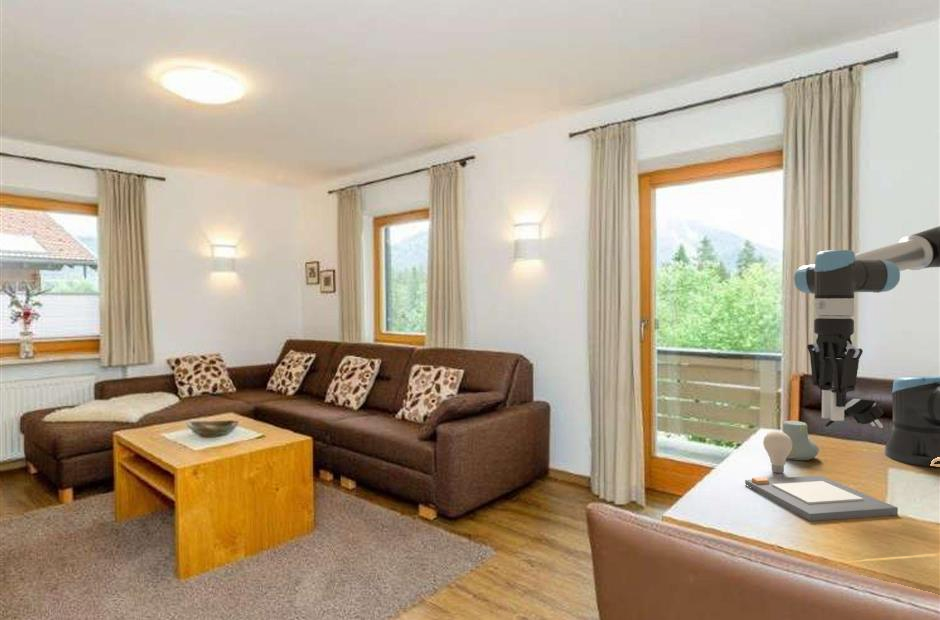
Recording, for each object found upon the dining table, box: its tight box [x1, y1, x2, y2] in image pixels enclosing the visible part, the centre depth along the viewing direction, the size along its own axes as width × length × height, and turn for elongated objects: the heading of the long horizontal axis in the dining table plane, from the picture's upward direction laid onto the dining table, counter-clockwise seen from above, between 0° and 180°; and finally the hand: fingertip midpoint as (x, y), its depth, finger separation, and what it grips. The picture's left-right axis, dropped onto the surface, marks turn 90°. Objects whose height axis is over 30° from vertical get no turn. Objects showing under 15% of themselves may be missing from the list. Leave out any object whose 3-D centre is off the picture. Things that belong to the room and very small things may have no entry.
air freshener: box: [782, 420, 820, 461], centre depth 146 cm, size 11×8×10 cm
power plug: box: [824, 398, 884, 429], centre depth 119 cm, size 6×8×12 cm
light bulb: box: [762, 430, 792, 474], centre depth 133 cm, size 7×7×11 cm
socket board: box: [744, 474, 899, 522], centre depth 116 cm, size 20×20×2 cm
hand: (832, 418), depth 120 cm, fingers closed on power plug, 2 cm apart
